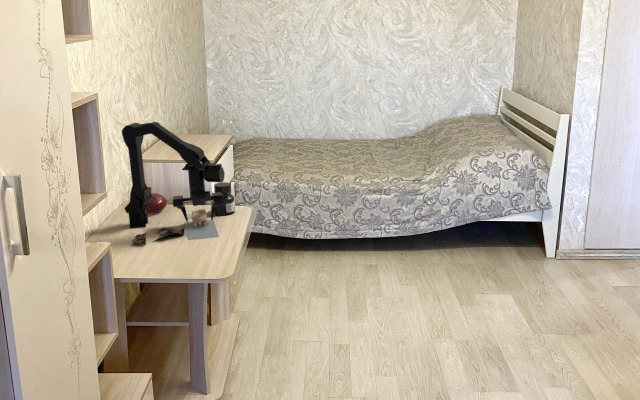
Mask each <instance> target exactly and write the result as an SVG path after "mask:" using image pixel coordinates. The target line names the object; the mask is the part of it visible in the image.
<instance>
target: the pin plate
mask: <svg viewBox="0 0 640 400" xmlns="http://www.w3.org/2000/svg"><path fill="white" fill-rule="evenodd" d="M184 225H185V232H186V238H187V241H193V240H194V241H195V240H203V239H213V238H219V236H220V235H219V234H218V230H217V227H216V224H215V221H214V219H213V220H211V219H207V226H204V224H203V220H199V221H197V227H194V226H193V221H188V222H186V221H185V222H184Z"/></svg>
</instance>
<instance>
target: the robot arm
mask: <svg viewBox="0 0 640 400" xmlns="http://www.w3.org/2000/svg"><path fill="white" fill-rule="evenodd" d="M146 135H153V136H154V137H155V138H157V139H158V140H160V141H161V142H163V143H164V144H166V145H167V146H168V147H170V148H171V149H173V150H174V151H176V152H177V153H178V155H179V156H180V158H181V159H182V160H183V161H184V162H185V165H184V167H182V168H181V169H182V171H187V174H188V175H187V176H188V187H189V197H184V196H183V195H184V194H183V195H181V194H180V195H173V196H172V199H171V200H172V206H173V208H176V209H177V210H180V211H181V212H182V215H183V216H184V219H185V222H189V218H188V215H187V210H186V205H185V204H186V203H187V204H189V203H192V206H194V207H198V206H206V205H207V202H209V201H210V220H214V216H215V214H214V212H215V209H216V207H217V206H218V205H220V203H223V202H224V199H223V195H222V193H221V192H217V193H215V192H211V190H208V191H207V190H206V184H205V181H206V182H207V183H221V182H224V180H225V170H224V167H223V166H222V165H223V164H222V163H216V164H214V163H211V161H210V160H209V159H208V157H207V156H206V155H205V151H204V149H202V148H201V147H199V146H197V145H195V144H193V143H189V142H186V141H184V140H183V139H182V138H180V137H178V136H177V135H176V134H174V133H173V132H172V131H170V130H168V129H167V128H166V127H164V126H163V125H161V123H159V122H157V121H152V122H145V123H139V122H132V123H130V124H128V125H125V126H124V127H123V128H122V129H121V136H122V138H123V142H124V144H125V146H126V147H127V148H128V149H127V150H128V157H129V166H130V174H131V183H132V186H131V189H130V192H129V202H128V203H127V205H125V207H124V210H125V213H126V214H128V219H129V221H128V223H129V229H133V228H134V229H135V228H146V227H147V225H148V224H149V218H148V217H149V216H148V213H147V212H146V210H145V208H146V207H147V205H148V203H149V202H150V201H151V197H153V196H152V194H153V193H152V186H148V185H147V184H146V178H145V169H144V162H143V152H142V151H143V150H142V145H143V141H144V138H145V137H144V136H146Z"/></svg>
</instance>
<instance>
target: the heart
mask: <svg viewBox="0 0 640 400" xmlns="http://www.w3.org/2000/svg"><path fill="white" fill-rule="evenodd" d="M152 196H153V197H151V201H150V202H149V203H148V205H147V207H146V208H145V211H146V212H147V214H151V215H157V214H159V213H161V212H162V211H163V210H164V209H165V208H166V207H167V204H168V199H167V198H166V197H165V196H164V195H163V194H160V193H157V192H153V193H152Z"/></svg>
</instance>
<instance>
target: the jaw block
mask: <svg viewBox="0 0 640 400" xmlns="http://www.w3.org/2000/svg"><path fill="white" fill-rule="evenodd" d="M191 218H192V222H193V226H194V227H197V221H199V220H202V221H203V224H204V226H207V220H208V219H207V212H206V208H199V209H198V208H197V209H191Z"/></svg>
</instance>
